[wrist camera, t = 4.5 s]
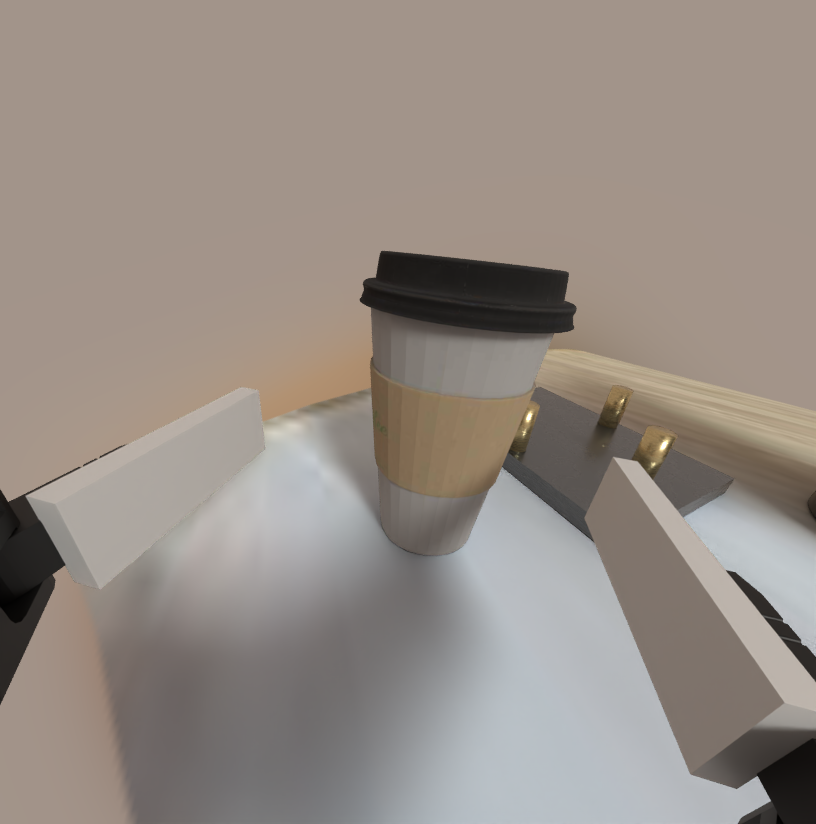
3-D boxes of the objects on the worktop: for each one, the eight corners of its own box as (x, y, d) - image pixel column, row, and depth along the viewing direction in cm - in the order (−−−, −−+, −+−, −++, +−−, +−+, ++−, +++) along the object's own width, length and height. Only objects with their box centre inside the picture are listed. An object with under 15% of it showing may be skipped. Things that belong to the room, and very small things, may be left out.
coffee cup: (337, 485, 22) (338, 246, 15) (452, 464, 26) (492, 264, 19) (381, 615, 14) (420, 252, 8) (534, 558, 18) (648, 280, 12)
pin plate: (724, 492, 26) (764, 436, 24) (613, 557, 19) (654, 485, 16) (537, 397, 42) (549, 357, 39) (436, 412, 34) (444, 364, 32)
